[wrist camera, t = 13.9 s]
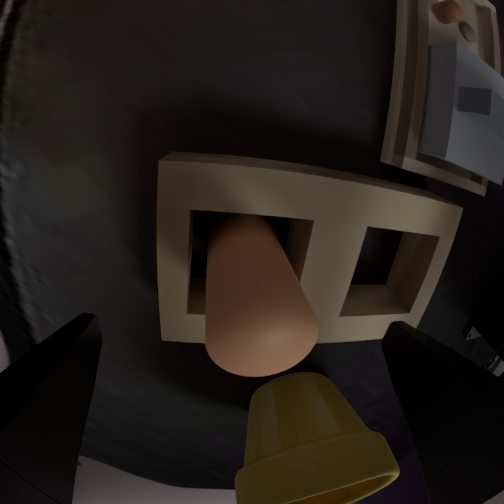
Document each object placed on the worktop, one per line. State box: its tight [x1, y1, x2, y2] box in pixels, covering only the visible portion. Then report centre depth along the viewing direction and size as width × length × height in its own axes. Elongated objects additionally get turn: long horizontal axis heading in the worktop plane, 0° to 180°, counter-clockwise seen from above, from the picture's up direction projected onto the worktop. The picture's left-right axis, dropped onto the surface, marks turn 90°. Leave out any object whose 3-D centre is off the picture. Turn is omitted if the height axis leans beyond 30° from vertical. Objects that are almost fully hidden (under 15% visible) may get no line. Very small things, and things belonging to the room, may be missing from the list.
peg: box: [205, 212, 319, 377], centre depth 11 cm, size 3×3×7 cm
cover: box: [417, 40, 504, 185], centre depth 9 cm, size 5×6×4 cm
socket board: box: [157, 151, 463, 343], centre depth 13 cm, size 14×8×3 cm, turn 82°
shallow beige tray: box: [380, 0, 500, 196], centre depth 10 cm, size 8×14×2 cm, turn 172°
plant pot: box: [235, 372, 400, 504], centre depth 16 cm, size 10×10×10 cm
